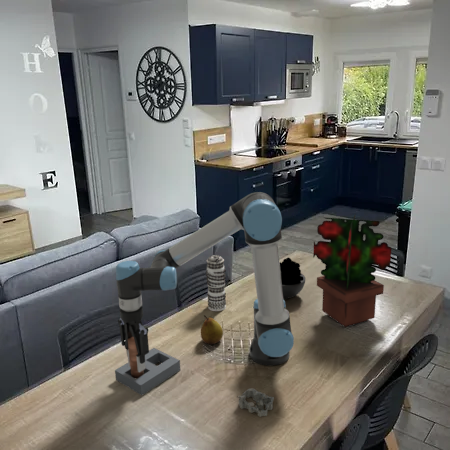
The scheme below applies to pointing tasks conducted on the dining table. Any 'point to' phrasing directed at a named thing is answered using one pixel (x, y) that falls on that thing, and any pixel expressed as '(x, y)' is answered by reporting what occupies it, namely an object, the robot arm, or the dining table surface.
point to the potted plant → (350, 269)
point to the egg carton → (260, 402)
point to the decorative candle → (216, 283)
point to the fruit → (211, 331)
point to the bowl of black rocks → (291, 278)
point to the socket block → (149, 372)
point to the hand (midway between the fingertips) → (136, 367)
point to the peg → (133, 358)
